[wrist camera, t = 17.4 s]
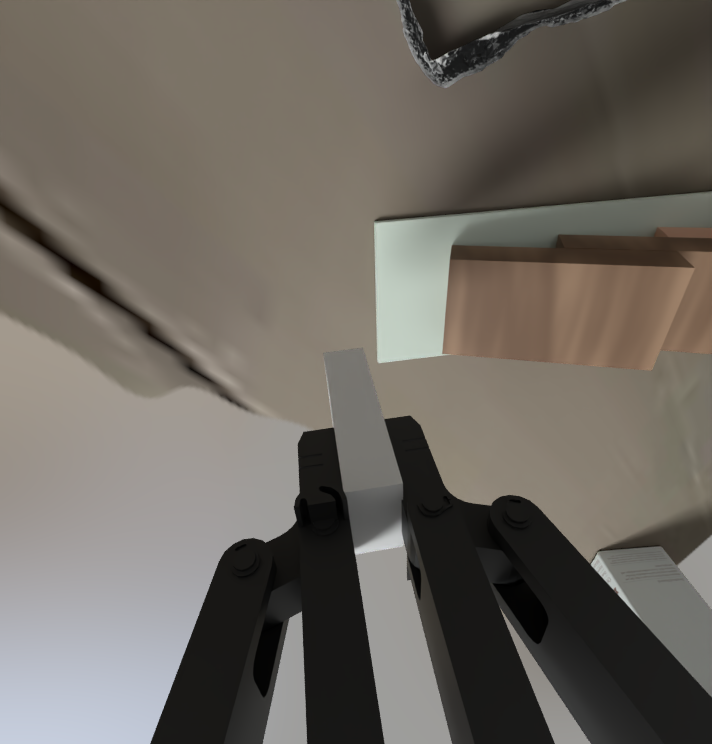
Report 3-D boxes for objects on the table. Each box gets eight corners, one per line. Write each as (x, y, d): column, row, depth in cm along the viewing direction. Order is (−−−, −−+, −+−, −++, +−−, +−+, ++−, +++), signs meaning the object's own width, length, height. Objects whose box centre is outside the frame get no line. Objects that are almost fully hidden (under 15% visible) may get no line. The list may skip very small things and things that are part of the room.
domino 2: (542, 341, 23) (757, 357, 21) (564, 247, 20) (817, 255, 18) (538, 323, 25) (737, 337, 23) (558, 234, 22) (790, 240, 20)
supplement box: (595, 549, 41) (699, 706, 31) (662, 544, 42) (783, 693, 32) (567, 591, 45) (651, 742, 35) (629, 585, 47) (727, 729, 36)
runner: (374, 221, 21) (375, 223, 20) (870, 177, 23) (876, 178, 23) (377, 360, 25) (378, 363, 25) (790, 311, 28) (795, 313, 27)
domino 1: (442, 353, 23) (651, 370, 21) (449, 259, 20) (695, 268, 18) (444, 335, 24) (639, 348, 22) (451, 245, 21) (677, 251, 19)
